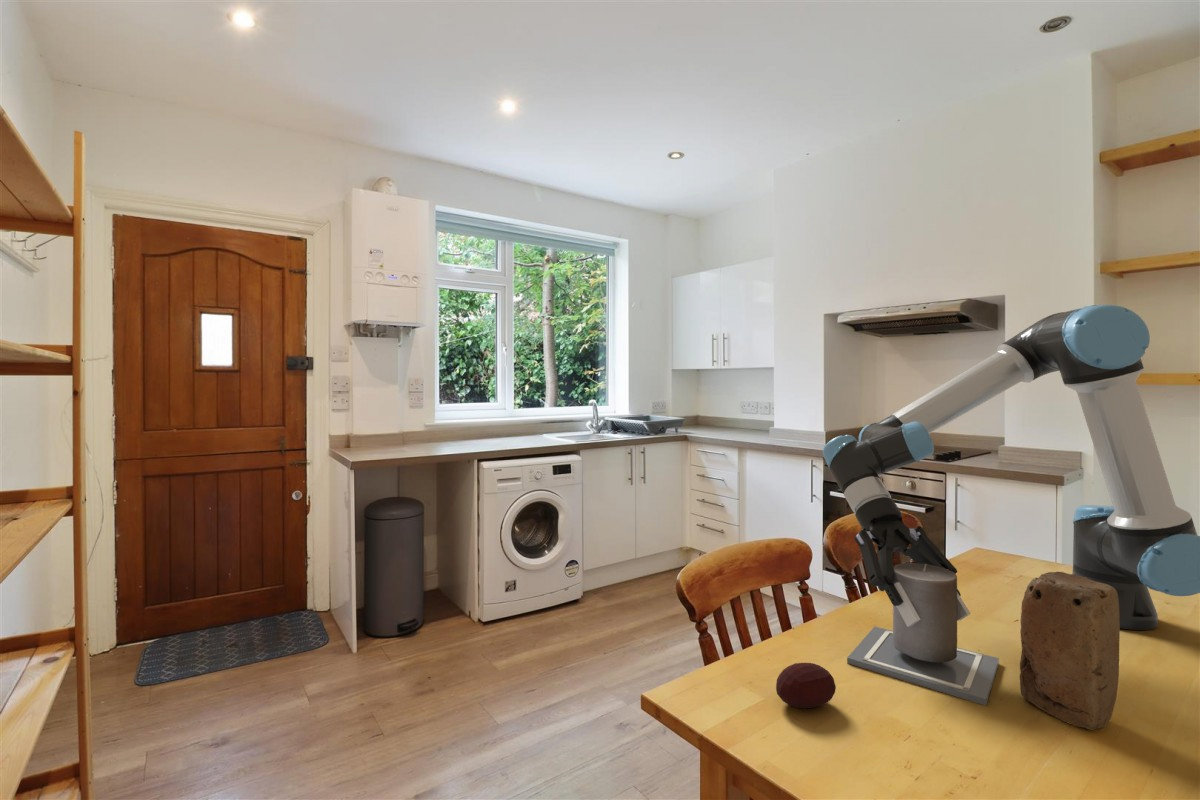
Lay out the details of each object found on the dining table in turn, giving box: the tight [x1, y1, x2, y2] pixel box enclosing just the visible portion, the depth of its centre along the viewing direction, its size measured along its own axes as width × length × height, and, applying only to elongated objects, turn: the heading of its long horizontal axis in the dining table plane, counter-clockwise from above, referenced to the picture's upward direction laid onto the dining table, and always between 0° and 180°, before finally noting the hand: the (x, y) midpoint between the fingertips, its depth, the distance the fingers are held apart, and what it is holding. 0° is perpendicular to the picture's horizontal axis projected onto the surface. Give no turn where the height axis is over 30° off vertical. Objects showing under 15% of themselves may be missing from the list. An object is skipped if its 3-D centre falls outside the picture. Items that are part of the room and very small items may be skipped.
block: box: [1019, 571, 1121, 731], centre depth 84 cm, size 11×8×20 cm
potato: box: [775, 662, 837, 709], centre depth 86 cm, size 8×9×6 cm
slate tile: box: [846, 625, 1000, 706], centre depth 99 cm, size 20×17×1 cm
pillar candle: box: [892, 562, 958, 662], centre depth 99 cm, size 10×10×15 cm
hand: (939, 620), depth 96 cm, fingers closed on pillar candle, 9 cm apart
